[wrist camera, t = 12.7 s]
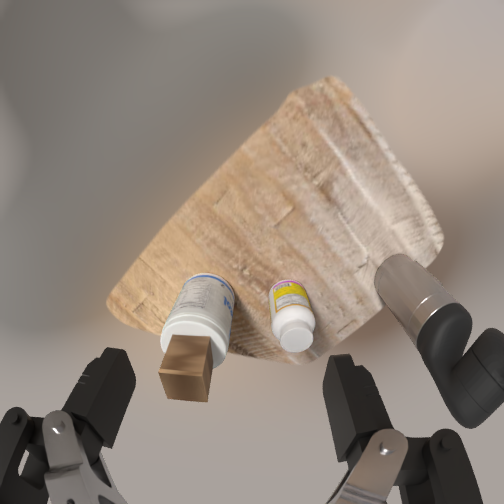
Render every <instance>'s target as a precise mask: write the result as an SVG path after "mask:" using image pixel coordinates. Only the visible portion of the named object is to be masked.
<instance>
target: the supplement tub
mask: <svg viewBox="0 0 504 504" xmlns="http://www.w3.org/2000/svg"><path fill="white" fill-rule="evenodd" d="M234 300H235V297H234V292H233V290H232V288H231V286H230V285H229V284H228V282H227V281H226V280H224V279H223V278H222V277H220V276H218V275H215V274H212V273H199V274H196V275H194V276H192V277H190V278H189V279H188V280H187V281H186V282H185V284H184V286H183V288H182V290H181V292H180V294H179V296H178V298H177V300H176V302H175V304H174V306H173V308H172V310H171V312H170V314H169V316H168V318H167V320H166V323H165V325H164V327H163V330H162V334H161V338H160V342H161V347H162V349H163V352H164V353H166V350H167V348H168V345H169V342H170V340H171V337H172V334H173V335H190V336H210V341H211V349H212V356H213V368H216V367H217V366H219V365H220V364H221V363H222V362H223V361H224V359H225V357H226V353H227V351H228V346H229V340H230V332H231V325H232V317H233V309H234Z"/></svg>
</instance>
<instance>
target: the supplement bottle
mask: <svg viewBox="0 0 504 504" xmlns="http://www.w3.org/2000/svg"><path fill="white" fill-rule="evenodd" d="M269 307H270V317H271V327H272V332H273V334H274V336H275V337H276V338H277V339H278V340H280V344H281V346H282V348H283V349H284V350H286V351H288V352H292V353H297V352H301V351H304V350H306V349H307V348H309V347H310V345H311V344H312V342H313V334H312V333H313V331H314V329H315V318H314V314H313V312H312V309H311V306H310V303H309V300H308V297H307V294H306V291H305V289H304V287H303V286H302V285H301V284H300V283H299V282H297V281H295V280H290V279H287V280H282V281H279V282H277V283H276V284H275V285H274V286H273V287H272V288H271V290H270V292H269Z"/></svg>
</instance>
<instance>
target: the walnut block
mask: <svg viewBox="0 0 504 504" xmlns="http://www.w3.org/2000/svg"><path fill="white" fill-rule="evenodd" d="M212 369H213V356H212V349H211V341H210V336H190V335H173V334H172V337H171V340H170V342H169V345H168V348H167V350H166V353H165V356H164V358H163V361H162V364H161V367H160V369H159V372H158V373H159V376H160V379H161V382H162V384H163V387H164V390H165V393H166V395H167V398H168V399H176V400H185V401H196V402H208V395H209V388H210V382H211V375H212Z"/></svg>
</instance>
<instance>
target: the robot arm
mask: <svg viewBox="0 0 504 504" xmlns="http://www.w3.org/2000/svg"><path fill="white" fill-rule="evenodd" d="M374 283H375V288H376V290H377V292H378V293H379V295H380V296H381V297H382V299H383V300H384V302H385V303H386V304H387V306H388V307H389V309H390V310H391V311H392V313H393V314H394V316H395V317H396V319H397V320H398V321H399V323H400V324H401V326H402V327H403V329H404V330H405V332H406V333H407V335H408V336H409V337H410V339H411V340H412V342H413V343H414V345H415V346H416V348H417V349H418V351H419V352H420V354H421V356H422V359H423V361H424V363H425V365H426V367H427V368H428V370H429V372H430V373H431V376H432V377H433V379H434V381H435V383H436V385H437V387H438V390H439V392H440V394H441V396H442V398H443V400H444V402H445V404H446V406H447V407H448V409H449V411H450V412H451V414H452V416H453V417H454V418H455V419H456V421H457V422H458V423H459V424H460V425H462V426H464V427H465V428H469V429H472V428H476V427H477V426H479V425H480V424H481V423H483V422H484V421H485V420H486V419H487V418H488V417H489V416H490V415H491V414H492V413H493V412H494V411H495V410H496V409H497V408H498V407H499V406H500V405H501V404H502V403H503V402H504V334H503V333H502V332H501V331H499V330H497V329H494V328H488V329H486V330H485V331H484V332H483V333H482V334H481V335H480V336H479V337H478V339H477V340H476V341H475V342H474V344H473V345H472V346H471V347H470V348H469V349H468V351H467V352H466V353H465V354H464V355H463V352H464V349H465V347H466V344H467V342H468V339H469V337H470V334H471V330H472V318H471V316H470V314H469V312H468V311H467V310H466V309H465V308H464V307H463V306H462V305H461V304H460V303H459V302H458V301H457V300H456V299H455V298H454V297H453V296H451V295H450V294H449V293H448V292H447V291H446V290H445V289H444V288H443V287H442V283H441V282H440V281H438V280H437V279H436V278H435V277H434V276H433V275H432V274H431V273H430V272H428V271H427V270H426V269H425V268H424V267H423V266H422V265H420V264H419V263H418V262H417V261H413V260H412V259H411V258H410V257H408V256H406V255H403V254H398V255H394V256H391V257H389V258H388V259H387V260H385V261H384V262H383V263H382V264H381V266H380V267H379V268H378V270H377V272H376V276H375V282H374ZM462 356H463V357H462ZM135 385H136V377H135V373H134V371H133V368H132V366H131V363H130V361H129V358H128V356H127V353H126V351H125V350H123V349H116V348H109V347H107V348H106V349H105V350H104V352H103V353H102V355H101V357H100V358H95V359H94V360H93V361H92V362H90V363H89V364H88V365H87V367H86V368H85V370H84V372H83V373H82V376H81V377H80V379H79V380H78V383H77V384H76V385H75V387H74V389H73V391H72V392H71V394H70V396H69V398H68V400H67V401H66V403H65V405H64V407H63V408H62V410H56V411H53V412H50V413H49V414H47V415H46V417H45V418H41V417H30V416H29V415H28V414H27V413H26V412H25V410H24V409H22V408H20V407H14V408H11V409H9V410H8V411H7V413H6V414H5V416H4V417H3V419H2V421H1V423H0V504H47V501H48V498H49V497H50V500H51V503H52V504H127V502H126V501H125V499H124V498H123V497H122V496H121V494H120V493H119V492H118V490H117V488H116V486H115V484H114V482H113V480H112V478H111V475H110V473H109V471H108V469H107V466H106V463H105V461H104V458H103V456H102V453H101V452H100V451H101V448H102V446H104V447H108V448H111V449H112V447H113V444H114V442H115V439H116V436H117V433H118V431H119V428H120V425H121V422H122V420H123V417H124V414H125V412H126V409H127V407H128V404H129V402H130V399H131V396H132V394H133V391H134V389H135ZM323 395H324V400H325V404H326V408H327V413H328V417H329V422H330V426H331V431H332V436H333V440H334V444H335V450H336V454H337V459H338V462H343V461H347V463H348V470H347V471H346V473H345V475H344V476H343V478H342V479H341V481H340V483H339V484H338V486H337V487H336V489H335V490H334V492H333V493H332V495H331V496H330V498H329V499H328V501H327V502H326V503H325V504H387V502H386V499H387V497H388V495H389V493H390V490H391V488H392V486H399V490H400V495H401V499H402V504H483V501H482V499H481V494H480V491H479V487H478V484H477V481H476V478H475V475H474V472H473V469H472V466H471V463H470V461H469V458H468V455H467V453H466V450H465V448H464V445H463V443H462V440H461V438H460V436H459V435H458V434H457V433H456V432H455V431H453V430H451V429H441V430H438V431H437V432H435V433H434V434H433V436H431V437H429V438H428V437H425V438H410V437H405V436H404V435H403V434H402V433H401V432H399V431H397V430H395V429H394V428H393V426H392V424H391V421H390V419H389V416H388V414H387V411H386V409H385V406H384V404H383V401H382V399H381V396H380V395H379V391H378V389H377V387H376V386H375V382H374V379H373V377H372V375H371V373H370V372H369V371H368V370H367V369H366V368H365V367H363V366H362V365H360V366H355V365H354V362H353V360H352V357H351V355H350V354H342V355H331V356H330V357H329V360H328V364H327V368H326V372H325V376H324V380H323ZM25 450H27V451H28V452H29V456H28V458H27V461H26V463H25V466H24V469H23V471H22V474H21V475H20V476H19V474H18V467H19V465H20V462H21V459H22V457H23V454H24V452H25Z"/></svg>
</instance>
